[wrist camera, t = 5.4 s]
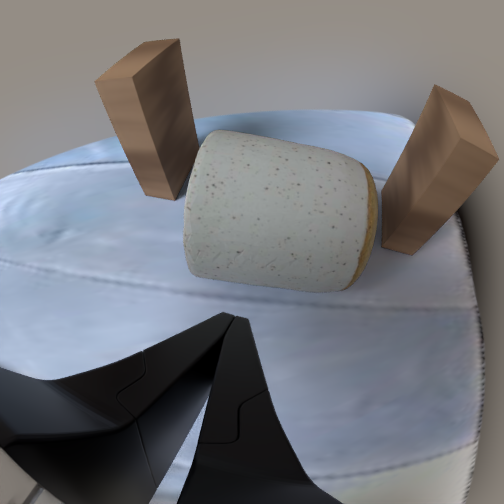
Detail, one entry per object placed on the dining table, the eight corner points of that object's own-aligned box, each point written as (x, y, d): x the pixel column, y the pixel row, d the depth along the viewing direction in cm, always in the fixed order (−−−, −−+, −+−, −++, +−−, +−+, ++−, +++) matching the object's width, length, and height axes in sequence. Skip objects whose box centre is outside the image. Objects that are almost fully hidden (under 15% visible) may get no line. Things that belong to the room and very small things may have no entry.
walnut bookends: (412, 255, 17) (499, 159, 8) (145, 195, 19) (94, 81, 10) (409, 199, 19) (469, 101, 10) (172, 148, 21) (144, 42, 12)
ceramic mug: (339, 312, 15) (401, 253, 8) (199, 296, 16) (160, 224, 9) (336, 175, 20) (362, 92, 13) (230, 163, 21) (223, 75, 14)
